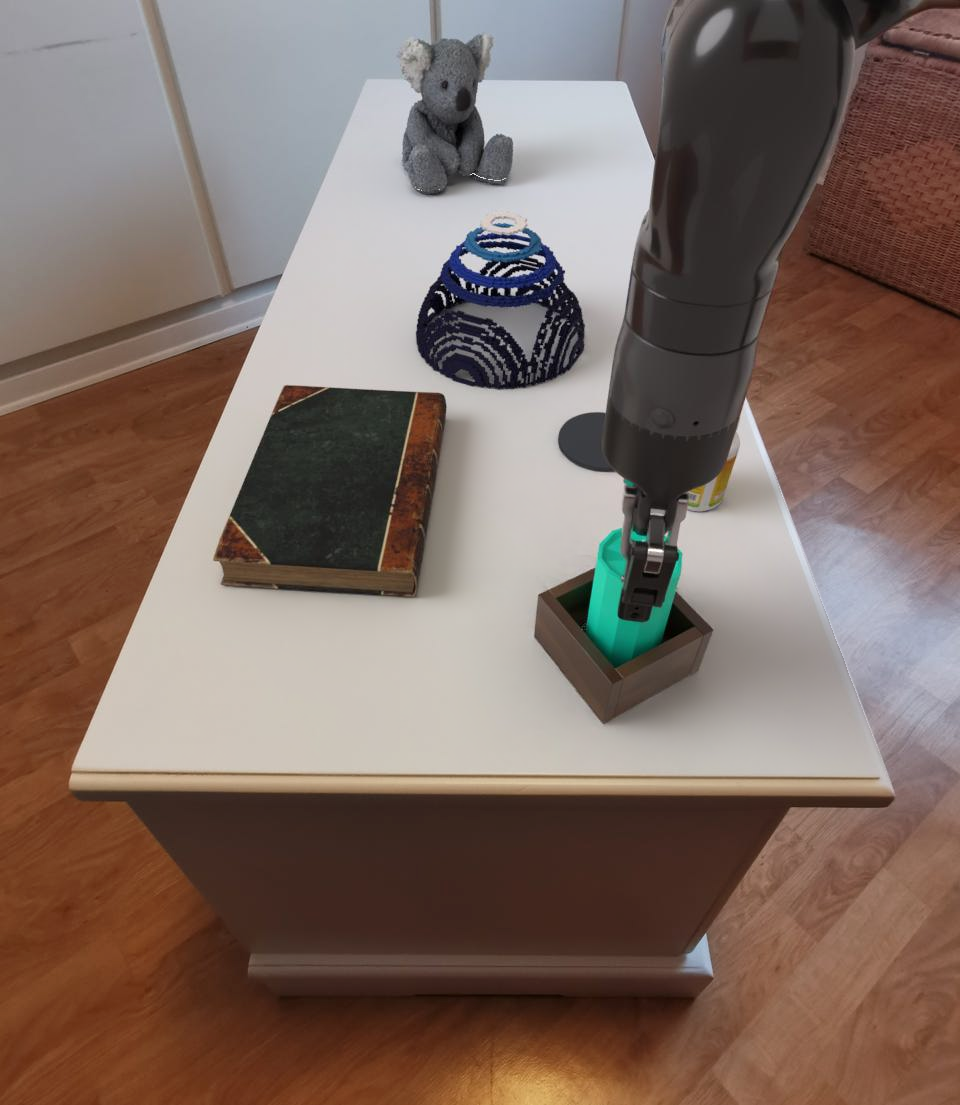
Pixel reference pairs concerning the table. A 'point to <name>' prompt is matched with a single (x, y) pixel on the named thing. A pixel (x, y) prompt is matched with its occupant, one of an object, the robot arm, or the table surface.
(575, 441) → the coaster
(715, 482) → the supplement bottle
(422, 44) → the koala plush
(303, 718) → the table surface
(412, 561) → the book
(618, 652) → the candle
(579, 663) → the square wooden box
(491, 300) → the decorative bowl
